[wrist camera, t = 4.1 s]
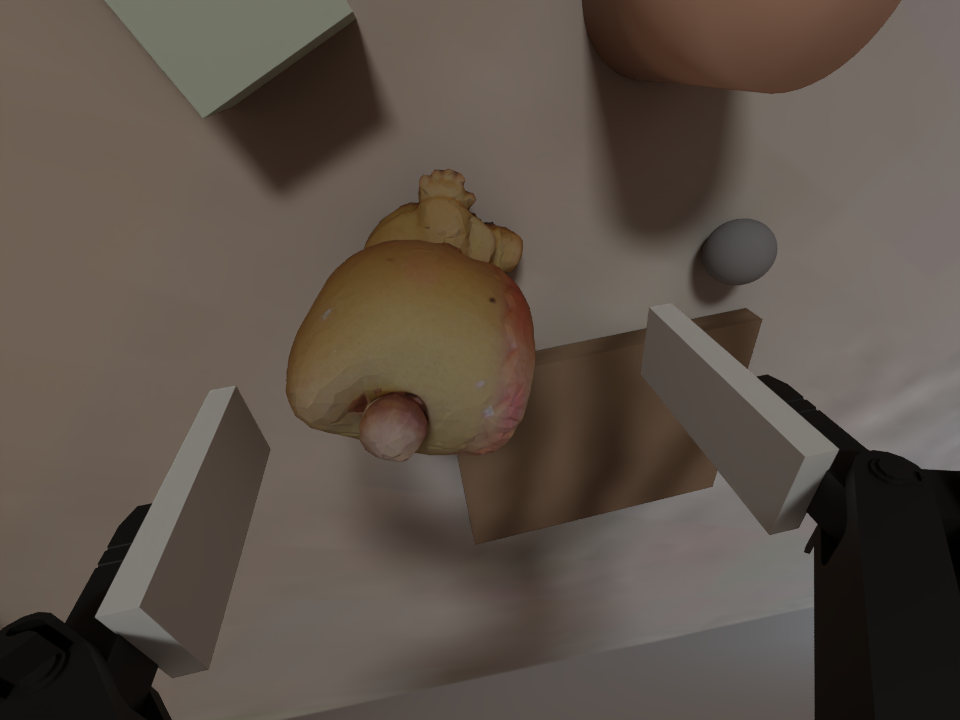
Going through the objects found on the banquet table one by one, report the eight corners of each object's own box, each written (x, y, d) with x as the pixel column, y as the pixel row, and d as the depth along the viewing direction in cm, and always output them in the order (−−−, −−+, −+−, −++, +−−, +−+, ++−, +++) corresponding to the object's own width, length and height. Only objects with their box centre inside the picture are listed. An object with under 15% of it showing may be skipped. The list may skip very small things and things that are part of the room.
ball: (685, 274, 27) (722, 301, 24) (695, 216, 25) (737, 237, 22) (739, 264, 27) (782, 289, 24) (753, 205, 25) (802, 225, 22)
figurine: (476, 360, 27) (459, 593, 14) (354, 319, 26) (215, 531, 13) (545, 198, 22) (616, 325, 9) (400, 139, 21) (253, 191, 8)
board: (471, 528, 36) (475, 544, 35) (440, 370, 27) (443, 385, 26) (701, 472, 38) (712, 486, 37) (745, 308, 29) (762, 319, 28)
